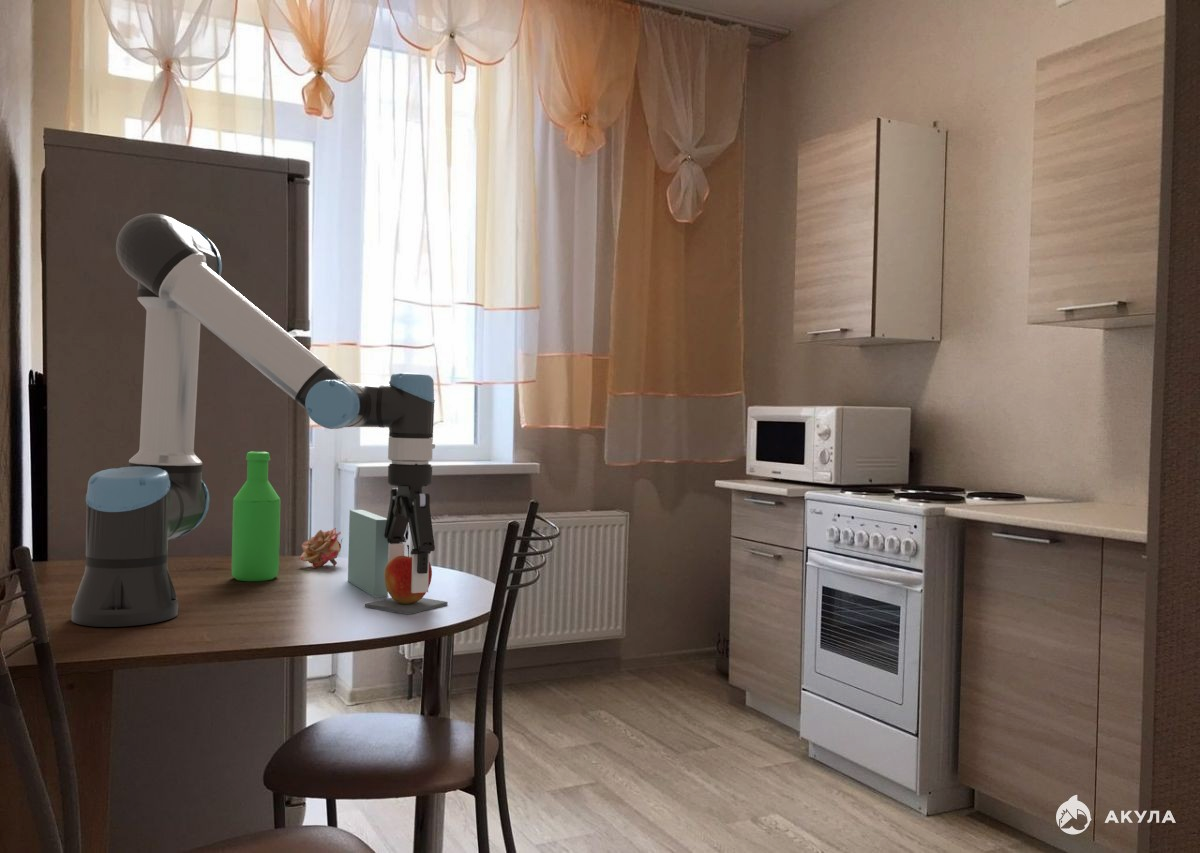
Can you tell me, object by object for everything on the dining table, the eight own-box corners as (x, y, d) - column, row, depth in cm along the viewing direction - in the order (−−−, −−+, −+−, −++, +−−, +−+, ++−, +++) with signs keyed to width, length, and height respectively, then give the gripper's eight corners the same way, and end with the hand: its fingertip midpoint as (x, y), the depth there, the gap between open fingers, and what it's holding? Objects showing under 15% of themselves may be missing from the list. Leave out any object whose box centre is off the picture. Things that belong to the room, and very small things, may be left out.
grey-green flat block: (390, 596, 177) (392, 519, 177) (374, 597, 175) (376, 519, 175) (362, 579, 192) (364, 509, 192) (347, 580, 191) (349, 509, 191)
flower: (334, 553, 215) (314, 525, 212) (361, 549, 210) (341, 520, 207) (307, 582, 208) (286, 554, 205) (334, 579, 202) (313, 550, 199)
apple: (388, 608, 163) (390, 549, 162) (380, 599, 170) (381, 542, 170) (436, 606, 166) (437, 548, 166) (425, 597, 173) (427, 541, 173)
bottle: (286, 575, 195) (289, 451, 194) (266, 583, 186) (270, 453, 186) (243, 573, 196) (246, 450, 195) (222, 581, 187) (226, 451, 187)
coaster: (408, 614, 161) (408, 610, 161) (364, 606, 166) (364, 603, 166) (447, 605, 170) (447, 601, 170) (404, 598, 175) (404, 594, 175)
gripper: (456, 466, 159) (453, 596, 159) (408, 459, 180) (405, 573, 181) (412, 466, 155) (408, 599, 155) (368, 458, 177) (365, 576, 177)
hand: (407, 586), depth 168 cm, fingers open, 12 cm apart
